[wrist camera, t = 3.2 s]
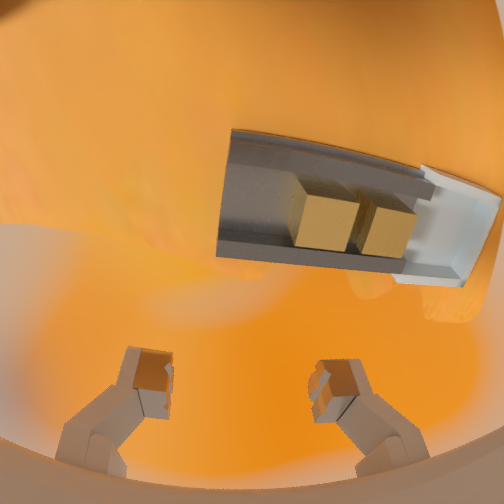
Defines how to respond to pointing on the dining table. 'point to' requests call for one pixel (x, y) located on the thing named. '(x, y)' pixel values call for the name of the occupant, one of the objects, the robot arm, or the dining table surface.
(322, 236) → the tan yellow cube
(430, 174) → the tray
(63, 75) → the dining table surface
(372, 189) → the slot bed
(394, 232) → the yellow cube
